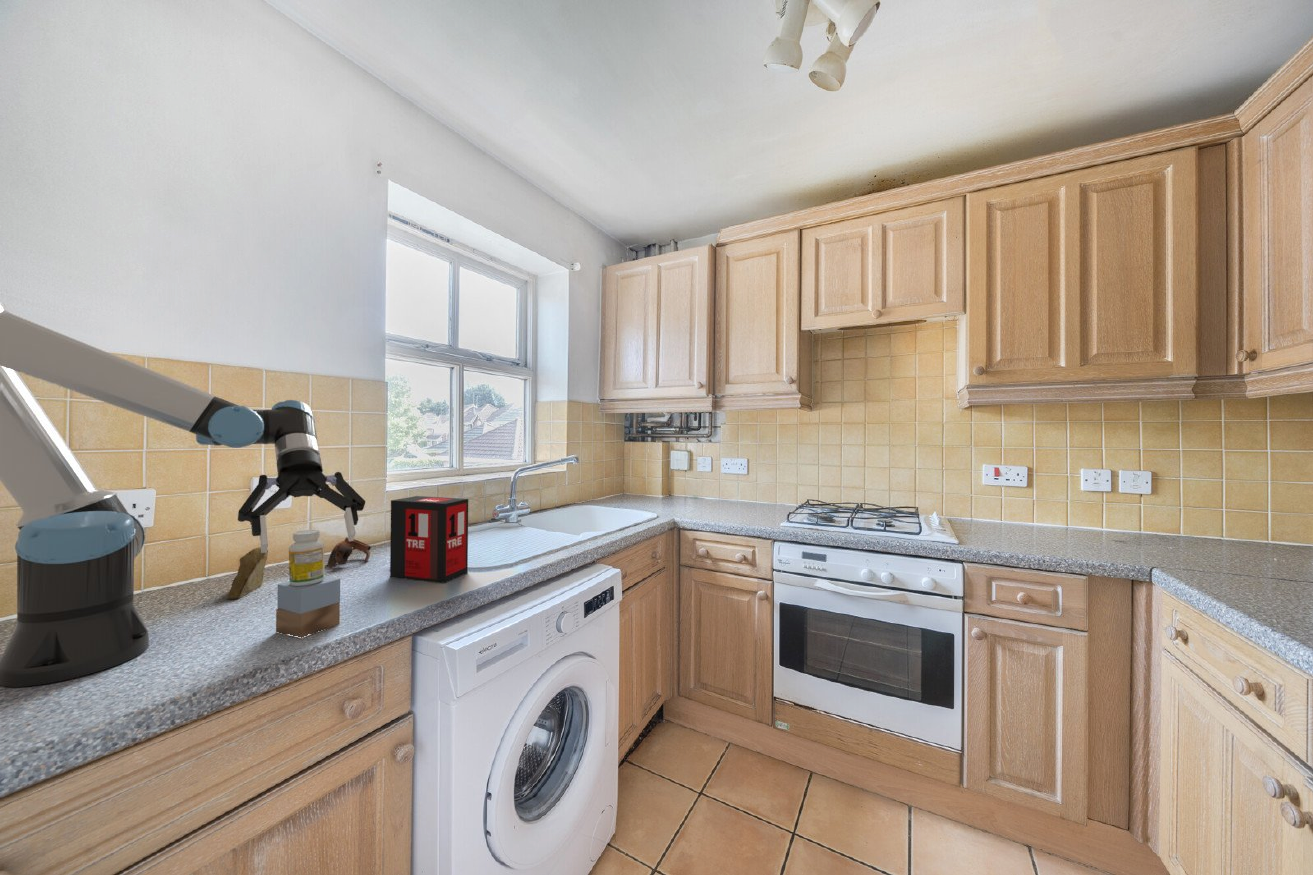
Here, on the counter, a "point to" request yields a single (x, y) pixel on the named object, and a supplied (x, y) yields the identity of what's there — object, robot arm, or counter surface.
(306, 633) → the walnut block
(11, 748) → the counter surface
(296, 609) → the slate-blue block
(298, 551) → the supplement bottle
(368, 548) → the pottery mug
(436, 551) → the cleaning product box
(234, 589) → the rock
